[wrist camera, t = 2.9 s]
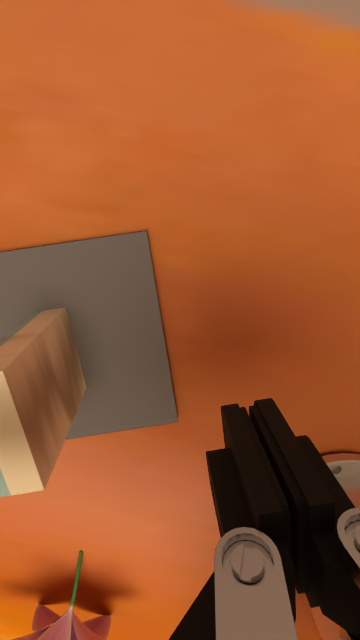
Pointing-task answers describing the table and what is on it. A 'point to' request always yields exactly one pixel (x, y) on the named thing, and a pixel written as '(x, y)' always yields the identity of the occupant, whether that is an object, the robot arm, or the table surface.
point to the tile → (36, 399)
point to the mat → (99, 324)
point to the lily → (67, 622)
